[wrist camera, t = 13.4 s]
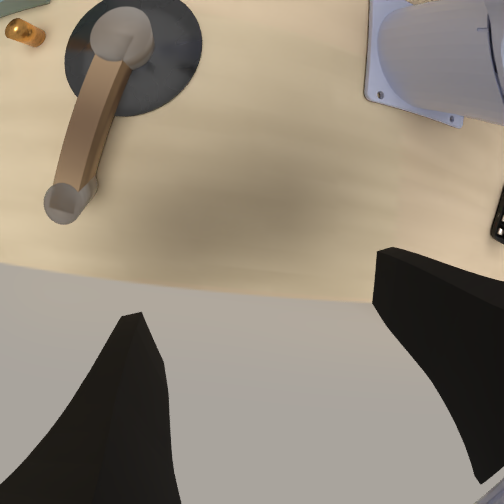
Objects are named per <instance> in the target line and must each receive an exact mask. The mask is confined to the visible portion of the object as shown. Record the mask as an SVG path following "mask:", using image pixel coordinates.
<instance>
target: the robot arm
mask: <svg viewBox="0 0 504 504" xmlns="http://www.w3.org/2000/svg"><path fill="white" fill-rule="evenodd" d="M378 92H379V93H380V98H378V96H377V94H378ZM364 95H365V97H366V98H367V100H369V101H372V102H376V103H380V104H384V105H387V106H391V107H394V108H398V109H401V110H405V111H408V112H411V113H414V114H418V115H421V116H424V117H427V118H430V119H433V120H436V121H438V122H441V123H444V124H447V125H450V126H452V127H455V128H461V127H462V125H463V118H464V117H467V118H472V119H477V120H481V121H485V122H489V123H493V124H497V125H501V126H504V0H437V1H431V2H426V3H421V4H417V5H413V4H411V3H409V2H407V1H405V0H370V12H369V36H368V53H367V66H366V78H365V89H364ZM372 304H373V305H374V307H375V308H376V310H377V312H378V313H379V315H380V317H381V318H382V320H383V321H384V323H385V324H386V326H387V327H388V328H389V330H390V331H391V332H392V333H393V335H394V336H395V337H396V338H397V339H398V341H399V342H400V343H401V344H402V345H403V347H404V348H405V349H406V350H407V351H408V352H409V354H410V355H411V356H412V357H413V359H414V360H415V361H416V362H417V363H418V365H419V366H420V367H421V368H422V369H423V371H424V372H425V373H426V375H427V376H428V377H429V379H430V380H431V381H432V383H433V385H434V386H435V388H436V389H437V391H438V392H439V394H440V396H441V398H442V399H443V401H444V403H445V405H446V407H447V408H448V410H449V412H450V414H451V416H452V418H453V420H454V422H455V424H456V426H457V428H458V430H459V433H460V435H461V437H462V440H463V442H464V444H465V447H466V450H467V453H468V456H469V459H470V461H471V464H472V468H473V472H474V475H475V477H476V478H477V480H478V481H479V483H480V484H482V483H484V482H485V481H487V480H488V479H489V478H490V477H492V476H493V475H494V474H495V473H496V472H498V471H499V470H500V469H501V468H502V467H503V466H504V282H503V281H499V280H495V279H491V278H488V277H484V276H481V275H478V274H475V273H472V272H468V271H465V270H462V269H459V268H457V267H454V266H451V265H448V264H445V263H442V262H439V261H437V260H434V259H431V258H428V257H425V256H422V255H419V254H416V253H413V252H410V251H406V250H403V249H399V248H395V247H390V248H387V249H384V250H380V251H377V259H376V271H375V282H374V292H373V301H372ZM0 504H181V500H180V496H179V492H178V487H177V483H176V479H175V474H174V468H173V461H172V450H171V436H170V417H169V397H168V387H167V380H166V374H165V367H164V362H163V360H162V357H161V355H160V353H159V351H158V349H157V346H156V344H155V342H154V340H153V338H152V335H151V333H150V331H149V328H148V326H147V324H146V322H145V319H144V317H143V314H142V312H139V313H135V314H130V315H126V316H122V317H121V318H120V320H119V321H118V323H117V325H116V327H115V328H114V330H113V332H112V333H111V335H110V337H109V339H108V340H107V342H106V344H105V346H104V347H103V349H102V351H101V353H100V354H99V356H98V358H97V359H96V361H95V363H94V365H93V366H92V368H91V370H90V372H89V373H88V375H87V376H86V378H85V379H84V381H83V383H82V384H81V386H80V388H79V389H78V391H77V392H76V394H75V395H74V397H73V399H72V400H71V402H70V403H69V405H68V406H67V407H66V409H65V410H64V412H63V413H62V415H61V416H60V417H59V419H58V420H57V421H56V423H55V424H54V426H53V427H52V428H51V429H50V431H49V432H48V433H47V434H46V436H45V437H44V438H43V439H42V440H41V442H40V443H39V444H38V445H37V446H36V448H35V449H34V450H33V451H32V452H31V453H30V455H29V456H28V457H27V458H26V459H25V460H24V461H23V462H22V464H21V465H20V466H19V467H18V468H17V469H16V470H15V471H14V472H13V473H12V474H11V475H10V476H9V477H8V478H7V479H6V480H5V481H4V482H2V483H1V484H0ZM474 504H504V478H503V479H502V480H501V481H500V482H499V483H498V484H496V485H495V486H494V487H493V488H492V489H491V490H490V491H488V492H487V493H486V494H485V495H484V496H483V497H481V498H480V499H479V500H478V501H477V502H475V503H474Z"/></svg>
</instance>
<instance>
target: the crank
mask: <svg viewBox="0 0 504 504" xmlns="http://www.w3.org/2000/svg"><path fill="white" fill-rule="evenodd" d="M90 44H91V47H92V49H93V51H94V53H95V55H94V58H93V60H92V62H91V65H90V67H89V70H88V72H87V74H86V77H85V80H84V82H83V85H82V87H81V90H80V93H79V96H78V98H77V101H76V104H75V107H74V110H73V113H72V116H71V119H70V122H69V125H68V129H67V132H66V136H65V139H64V143H63V146H62V150H61V154H60V158H59V162H58V166H57V170H56V174H55V179H54V183H53V186H51V187H50V188H49V189H48V190H47V192H46V194H45V197H44V208H45V211H46V214H47V215H48V217H49V218H50V219H51V220H52V221H54V222H55V223H58V224H63V225H64V224H69V223H72V222H73V221H75V220H76V219H77V218H78V216H79V215H80V214H81V212H82V211H83V210H84V208H85V207H86V206H87V204H88V203H89V202H90V200H91V199H92V198H93V196H94V195H95V193H96V191H97V186H98V183H97V179H96V176H95V174H96V170H97V167H98V164H99V160H100V157H101V154H102V150H103V147H104V144H105V141H106V138H107V135H108V132H109V129H110V126H111V123H112V120H113V118H114V115H115V112H116V109H117V107H118V104H119V101H120V99H121V96H122V94H123V91H124V89H125V86H126V84H127V82H128V79H129V77H130V74H131V72H132V70H134V69H137V68H139V67H141V66H143V65H144V64H145V63H146V62H147V61H148V60H149V59H150V58H151V56H152V54H153V52H154V47H155V42H154V37H153V33H152V29H151V24H150V21H149V19H148V17H147V15H146V14H145V13H144V12H142V11H141V10H139V9H137V8H134V7H127V6H126V7H118V8H115V9H112V10H110V11H108V12H106V13H105V14H104V15H102V16H101V17H100V18H99V19H98V20H97V22H96V23H95V25H94V26H93V29H92V31H91V35H90Z"/></svg>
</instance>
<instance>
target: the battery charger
mask: <svg viewBox="0 0 504 504" xmlns="http://www.w3.org/2000/svg"><path fill="white" fill-rule="evenodd" d="M492 236H493V238H494V239H495V240H496V241H498V242H500V243H502V244H504V191H503V194H502V198H501V201H500V204H499V207H498V211H497V214H496V217H495V221H494V224H493V228H492Z"/></svg>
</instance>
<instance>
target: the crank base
mask: <svg viewBox="0 0 504 504" xmlns="http://www.w3.org/2000/svg"><path fill="white" fill-rule="evenodd" d="M126 6H127V7H134V8H137V9H139V10H141V11H142V12H144V13H145V14H146V15H147V17H148V19H149V21H150V24H151V29H152V33H153V37H154V42H155V47H154V52H153V54H152V56H151V58H150V59H149V60H148V61H147V62H146V63H145V64H144V65H143V66H141V67H139V68H137V69H134V70H132V72H131V74H130V77H129V79H128V82H127V84H126V86H125V89H124V91H123V94H122V96H121V99H120V101H119V104H118V107H117V109H116V112H115V115H114V116H134V115H139V114H143V113H147V112H150V111H152V110H155V109H157V108H159V107H161V106H163V105H164V104H166V103H167V102H169V101H170V100H172V99H173V98H174V97H175V96H177V95H178V94H179V93H180V92H181V91H182V90H183V89H184V87H185V86H186V85H187V84H188V82H189V81H190V79H191V78H192V76H193V75H194V73H195V71H196V68H197V66H198V63H199V60H200V57H201V51H202V36H201V30H200V27H199V24H198V22H197V20H196V17H195V16H194V14H193V13H192V11H191V10H190V9H189V8H188V7H187V6H186V5H185V4H184V3H183V2H181V1H180V0H103V1H102V2H100V3H98V4H97V5H96V6H94V7H93V8H92V9H91V10H89V11H88V12H87V13H86V14H85V15H84V16H83V18H82V19H81V20H80V21H79V23H78V24H77V25H76V27H75V29H74V30H73V32H72V34H71V36H70V38H69V41H68V44H67V47H66V53H65V73H66V77H67V80H68V83H69V85H70V87H71V89H72V91H73V92H74V94H75V95H76V96H77V97H78V96H79V93H80V90H81V87H82V85H83V82H84V80H85V77H86V74H87V72H88V70H89V67H90V65H91V62H92V60H93V58H94V55H95V53H94V51H93V49H92V47H91V44H90V35H91V31H92V29H93V26H94V25H95V23H96V22H97V20H98V19H99V18H100V17H101V16H102V15H104V14H105V13H106V12H108V11H110V10H112V9H115V8H118V7H126ZM5 35H6V37H7V38H10V39H13V40H16V41H19V42H22V43H24V44H27V45H30V46H33V47H37V46H39V45H40V44H42V42H43V41H44V39H45V32H44V31H43V30H41V29H39V28H37V27H35V26H33V25H31V24H30V23H28V22H26V21H24V20H22V19H20V18H16V19H13V20H12V21H11V22H10V23H9V24H8V25H7V27H6V29H5Z"/></svg>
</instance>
